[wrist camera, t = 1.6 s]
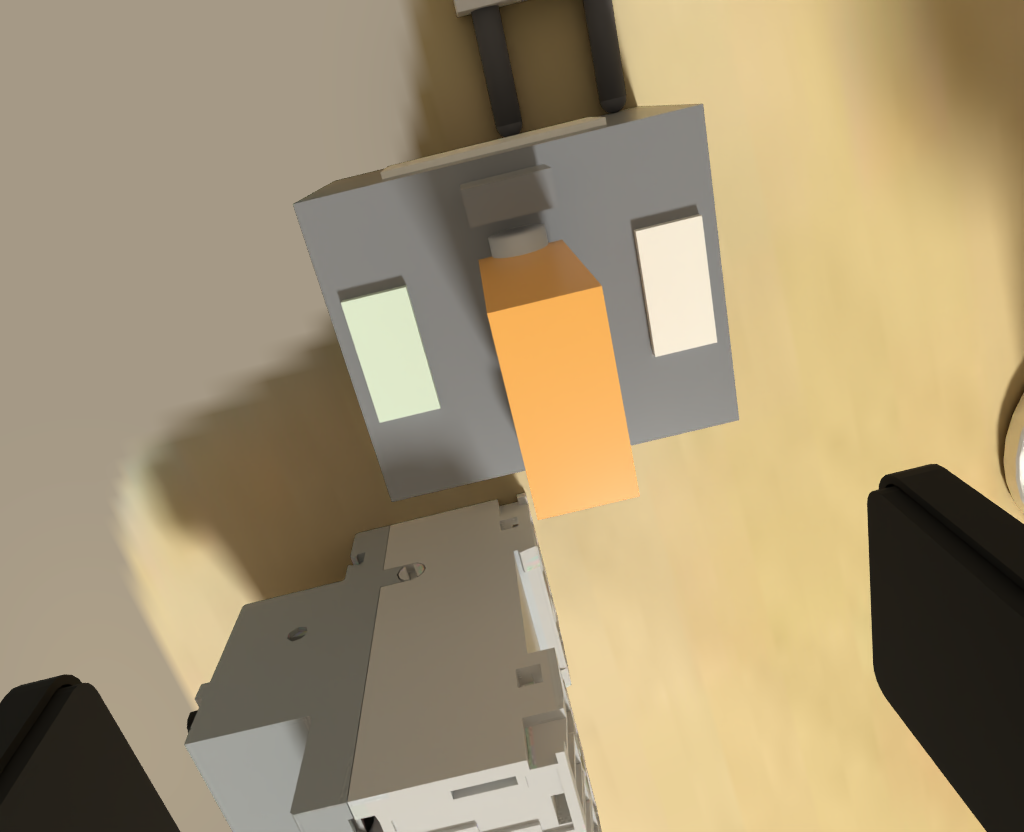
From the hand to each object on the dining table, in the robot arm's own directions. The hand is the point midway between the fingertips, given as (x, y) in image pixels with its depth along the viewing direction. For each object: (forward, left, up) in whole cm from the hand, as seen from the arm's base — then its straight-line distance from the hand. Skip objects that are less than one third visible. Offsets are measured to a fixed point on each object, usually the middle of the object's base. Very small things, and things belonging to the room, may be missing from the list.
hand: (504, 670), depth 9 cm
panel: (-2, 0, -23) cm, 23 cm away
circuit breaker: (+7, +14, -23) cm, 28 cm away
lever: (-2, 0, -14) cm, 14 cm away
